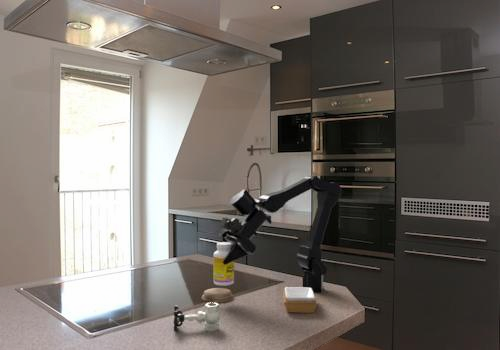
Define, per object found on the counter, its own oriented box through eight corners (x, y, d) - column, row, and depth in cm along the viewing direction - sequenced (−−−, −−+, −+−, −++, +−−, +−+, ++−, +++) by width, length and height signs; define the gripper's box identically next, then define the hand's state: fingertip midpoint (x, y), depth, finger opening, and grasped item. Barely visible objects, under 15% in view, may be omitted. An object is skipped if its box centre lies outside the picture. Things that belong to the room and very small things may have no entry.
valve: (219, 324, 113) (175, 325, 112) (219, 300, 113) (175, 301, 112) (220, 333, 107) (173, 335, 105) (220, 308, 107) (173, 309, 105)
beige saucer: (237, 295, 140) (237, 289, 140) (225, 304, 130) (225, 298, 130) (210, 291, 143) (210, 286, 143) (196, 300, 133) (196, 294, 133)
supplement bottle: (227, 287, 127) (227, 245, 127) (209, 284, 130) (209, 244, 130) (237, 282, 133) (237, 242, 133) (220, 279, 136) (220, 240, 136)
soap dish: (317, 315, 121) (317, 298, 121) (283, 314, 122) (283, 297, 122) (312, 301, 134) (312, 286, 134) (282, 301, 134) (282, 285, 134)
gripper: (224, 206, 142) (193, 240, 137) (247, 211, 125) (213, 250, 120) (244, 227, 145) (215, 261, 140) (270, 235, 128) (237, 274, 124)
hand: (219, 261), depth 131 cm, fingers closed on supplement bottle, 7 cm apart
